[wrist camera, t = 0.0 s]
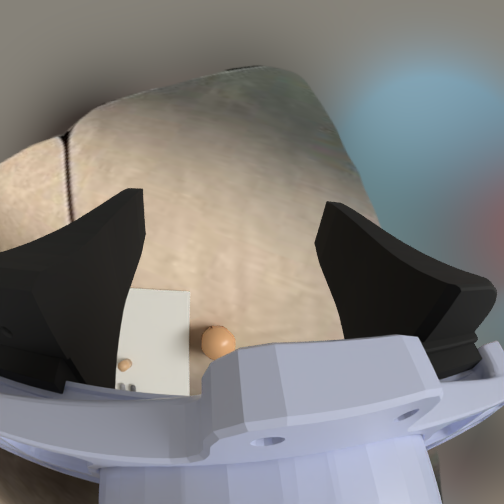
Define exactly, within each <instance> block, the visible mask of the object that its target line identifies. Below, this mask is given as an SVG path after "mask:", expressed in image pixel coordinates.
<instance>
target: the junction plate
mask: <svg viewBox="0 0 504 504" xmlns="http://www.w3.org/2000/svg"><path fill="white" fill-rule="evenodd" d="M189 324H190V291H170V290H153V289H137V288H130V289H129V293H128V296H127V299H126V303H125V307H124V311H123V317H122V323H121V329H120V337H119V345H118V353H117V366H116V384H115V389H118V390H126V391H134V392H143V393H154V394H166V395H183V396H190V391H189Z"/></svg>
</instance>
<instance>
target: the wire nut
mask: <svg viewBox="0 0 504 504" xmlns="http://www.w3.org/2000/svg"><path fill="white" fill-rule="evenodd" d="M234 350H235V338H234V336H233V335H232V334H231V333H230V332H229V331H228V330H227V329H226V328H225V327H223V326H212V328H211V327H209V328H208V329H207V330H206V331H205V332H204V333H203V335H202V351H203V352H204V353H205V354H206V356H208V357H209V358H210V359H212V360H216V359H218V358H220V357H222V356H224V355H226V354H228V353H230V352H232V351H234Z"/></svg>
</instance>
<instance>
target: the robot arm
mask: <svg viewBox="0 0 504 504" xmlns="http://www.w3.org/2000/svg"><path fill="white" fill-rule="evenodd" d="M145 235H146V232H145V219H144V203H143V189H135V188H128V189H125V190H123V191H121V192H120V193H118V194H117V195H115V196H113V197H112V198H110V199H109V200H107V201H106V202H104V203H103V204H101V205H100V206H98V207H97V208H95V209H93V210H92V211H90V212H89V213H87V214H85V215H84V216H82V217H81V218H79V219H77V220H76V221H74V222H72V223H70V224H68V225H66V226H65V227H63V228H61V229H59V230H57V231H55V232H53V233H50V234H48V235H46V236H44V237H41V238H39V239H37V240H35V241H32V242H30V243H27V244H24V245H22V246H19V247H16V248H13V249H10V250H7V251H4V252H0V447H1V448H3V449H5V450H7V451H9V452H11V453H13V454H15V455H18V456H20V457H22V458H25V459H27V460H29V461H32V462H34V463H37V464H39V465H42V466H44V467H47V468H50V469H53V470H55V471H58V472H61V473H64V474H67V475H71V476H74V477H77V478H81V479H84V480H88V481H91V482H95V483H99V504H442V501H441V498H440V494H439V490H438V486H437V483H436V479H435V476H434V472H433V469H432V466H431V462H430V459H429V456H428V453H427V450H429V449H431V448H433V447H436V446H438V445H440V444H442V443H443V442H445V441H447V440H450V439H451V438H453V437H455V436H457V435H459V434H461V433H463V432H464V431H466V430H468V429H470V428H472V427H473V426H475V425H477V424H478V423H480V422H482V421H483V420H485V419H486V418H488V417H489V416H490V415H491V414H493V413H494V412H496V411H497V410H498V409H499V408H501V407H502V406H503V405H504V351H503V349H502V348H501V346H500V344H499V342H498V341H494V342H491V343H488V344H485V345H483V346H481V347H480V348H478V349H477V348H476V346H475V344H474V343H475V342H476V341H477V340H478V337H477V335H476V334H475V330H476V329H477V328H478V327H479V325H480V324H481V323H482V321H483V320H484V319H485V317H486V316H487V315H488V313H489V312H490V311H491V309H492V307H493V305H494V303H495V301H496V296H497V290H496V288H495V287H494V286H493V284H492V283H491V282H490V281H489V280H488V279H486V278H484V277H481V276H478V275H475V274H471V273H469V272H465V271H462V270H460V269H457V268H455V267H452V266H450V265H447V264H445V263H442V262H440V261H438V260H436V259H434V258H432V257H430V256H427V255H425V254H423V253H421V252H419V251H418V250H416V249H414V248H412V247H411V246H409V245H407V244H405V243H403V242H402V241H400V240H398V239H396V238H395V237H394V236H392V235H391V234H389V233H387V232H386V231H384V230H383V229H381V228H380V227H378V226H377V225H375V224H374V223H373V222H371V221H370V220H368V219H367V218H365V217H364V216H362V215H361V214H359V213H358V212H356V211H355V210H353V209H351V208H350V207H348V206H346V205H344V204H342V203H337V202H329V201H327V202H326V205H325V209H324V212H323V216H322V219H321V223H320V226H319V229H318V233H317V236H316V239H315V247H316V252H317V256H318V260H319V263H320V266H321V269H322V271H323V274H324V276H325V279H326V281H327V284H328V286H329V289H330V291H331V294H332V296H333V299H334V301H335V304H336V307H337V310H338V313H339V317H340V321H341V325H342V329H343V334H344V339H342V340H328V341H309V342H282V343H267V344H261V345H255V346H248V347H241V348H238V349H236V350H234V351H232V352H230V353H228V354H226V355H224V356H222V357H220V358H218V359H216V360H214V361H213V362H211V363H210V365H209V367H208V368H207V370H206V372H205V373H204V375H203V377H202V394H201V395H193V396H183V395H166V394H154V393H143V392H134V391H126V390H118V389H115V384H116V366H117V353H118V345H119V337H120V329H121V323H122V317H123V311H124V307H125V303H126V299H127V296H128V293H129V289H130V286H131V283H132V280H133V277H134V275H135V272H136V269H137V266H138V263H139V260H140V257H141V254H142V249H143V245H144V240H145Z"/></svg>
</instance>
